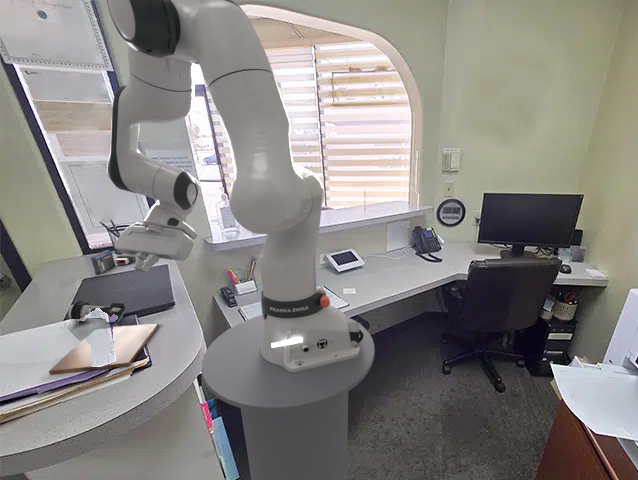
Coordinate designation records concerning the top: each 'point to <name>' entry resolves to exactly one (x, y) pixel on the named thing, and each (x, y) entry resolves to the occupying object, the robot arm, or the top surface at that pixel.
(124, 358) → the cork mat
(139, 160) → the robot arm
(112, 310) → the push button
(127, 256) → the usb drive
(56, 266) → the top surface
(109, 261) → the mini dv tape
